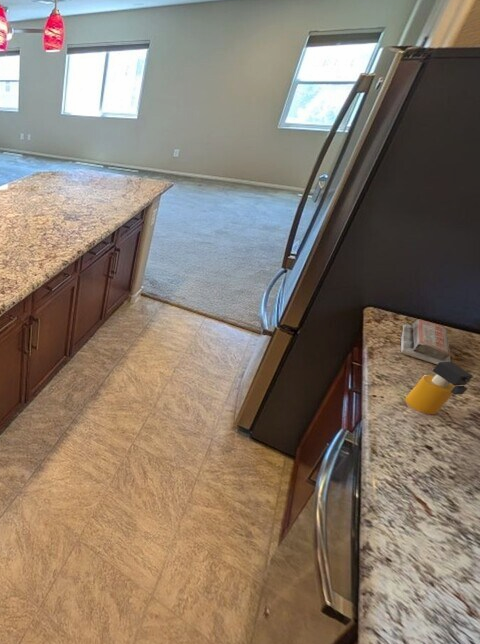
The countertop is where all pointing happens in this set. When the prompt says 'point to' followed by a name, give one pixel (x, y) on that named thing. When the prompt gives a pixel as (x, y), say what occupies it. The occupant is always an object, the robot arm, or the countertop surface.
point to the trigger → (458, 390)
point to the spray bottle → (437, 387)
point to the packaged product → (425, 341)
